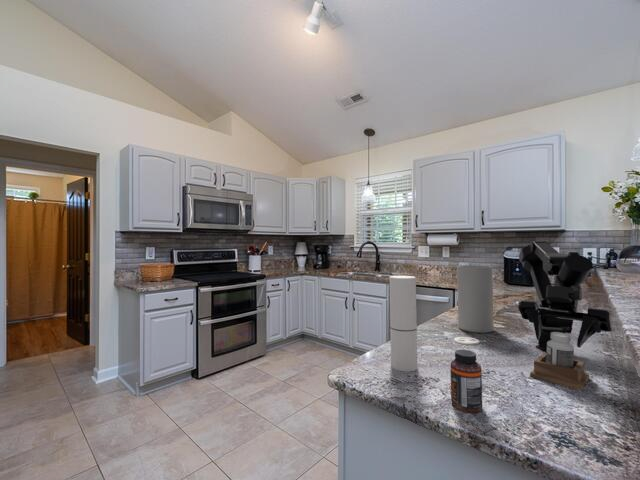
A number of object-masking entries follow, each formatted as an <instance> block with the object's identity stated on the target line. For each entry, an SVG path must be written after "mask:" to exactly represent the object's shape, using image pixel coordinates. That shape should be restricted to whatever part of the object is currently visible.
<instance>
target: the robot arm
mask: <svg viewBox="0 0 640 480" xmlns="http://www.w3.org/2000/svg"><path fill="white" fill-rule="evenodd" d="M518 260H519V262H520V263H521V265H522V268H523V269H525V270H526V271H528V272H529V273H530V276H531V279H532V282H533V283H532V284H533V286H534V289H535V292H536V296H537V298H538V301H539V305H538V303H537V301H531V300H520V301H519V302H518V306H517V308H518V310H519V314H520V316H521V317H522V319H524V320H528V321H529V323H532V324H533V327H534V333H535V338H536V340H537V341H538V343H537V345H535V348H537V349H540V350H541V351H544V352H545V353H547V342H548V341H549V340H552V339H551V332H560V333H565V334H572V331H573V323H574V321H580V322H581V326H580V329H579V332H578V333H579V334H578V337H577V342H576V346H577V348H581V347H582V346H583V344H585V342H587V341H588V339H589V338H591V337H592V336H593V335H594V334H600V333H601V332H612V329H613V328H612V326H613V321H612V317H611V312H610V311H609V310H608V309H604V308H603V309H602V308H596V307H595V308H594V307H588V308H587V313H586V312H579V311H578V307H579V301H582V296H583V294H582V293H583V290H582V286H581V284H583V283H585V281H586V279H587V278H588V275H589V274H590V273H591V271H592V269H593V267H594V264H593V261H591V260H590V259H589V258H587V257H586V256H583V255H581V254H579V252H577V251H568V254H565V253H560V252H559V251H558V250H556V249H555V248H554V247H553V246H552V245H550V242H549V241H546V240H533V241H530V243H529V244H528V245H526V246H524V247H522V248H521V249H520V251H519V254H518ZM549 276H555V278H554V282H553V285H552V283H551V280H550V278H549Z"/></svg>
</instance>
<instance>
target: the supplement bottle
mask: <svg viewBox="0 0 640 480" xmlns="http://www.w3.org/2000/svg"><path fill="white" fill-rule="evenodd" d="M482 373H483V372H482V366H481V365H480V363H478V362H477V354H476V352H475V351H472V350H469V349H456V350H455V351H454V359H453V360H452V361H451V362H450V400H451V405H452V406H453V407H454V408H456V409H458V410H459V411H462V412H465V413H470V414H471V413H472V414H473V413H479V412H481V411H482V410H483V374H482Z"/></svg>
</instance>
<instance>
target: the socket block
mask: <svg viewBox="0 0 640 480" xmlns="http://www.w3.org/2000/svg"><path fill="white" fill-rule="evenodd" d="M546 356H547V352H542V353H541V354H540V355H539V356H538V357H537V358H536V359H534V361H533V369H532V370H531V371H530V372H529V377H530V378H534V379H536V380H541V381H545V382H547V383H548V382H549V383H552V384H556V385H559V386H563V387H566V388H570V389H574V390H577V391H582V390H584V389H583V388H584V387H585V385H586V384H587V382H588V380H589V379H590V373H588V372H587V373H586V369H585V367H586V365H585V364H586V363H585V361H582V360H577V359H573V369H571V368H567V367H563V366H558V365H554V364H550V363H546Z"/></svg>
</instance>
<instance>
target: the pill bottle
mask: <svg viewBox="0 0 640 480" xmlns="http://www.w3.org/2000/svg"><path fill="white" fill-rule="evenodd" d="M551 339H552V340H549V341H548V342H547V352H546V354H547V356H546V363H550V364H554V365H558V366H563V367H567V368H571V369H573V359H574V356H575V354H574V353H575V348H574V346H573V345H572V344H571V341H572V338H571V335H570V334H569V333H560V332H551ZM574 360H575V359H574Z"/></svg>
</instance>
